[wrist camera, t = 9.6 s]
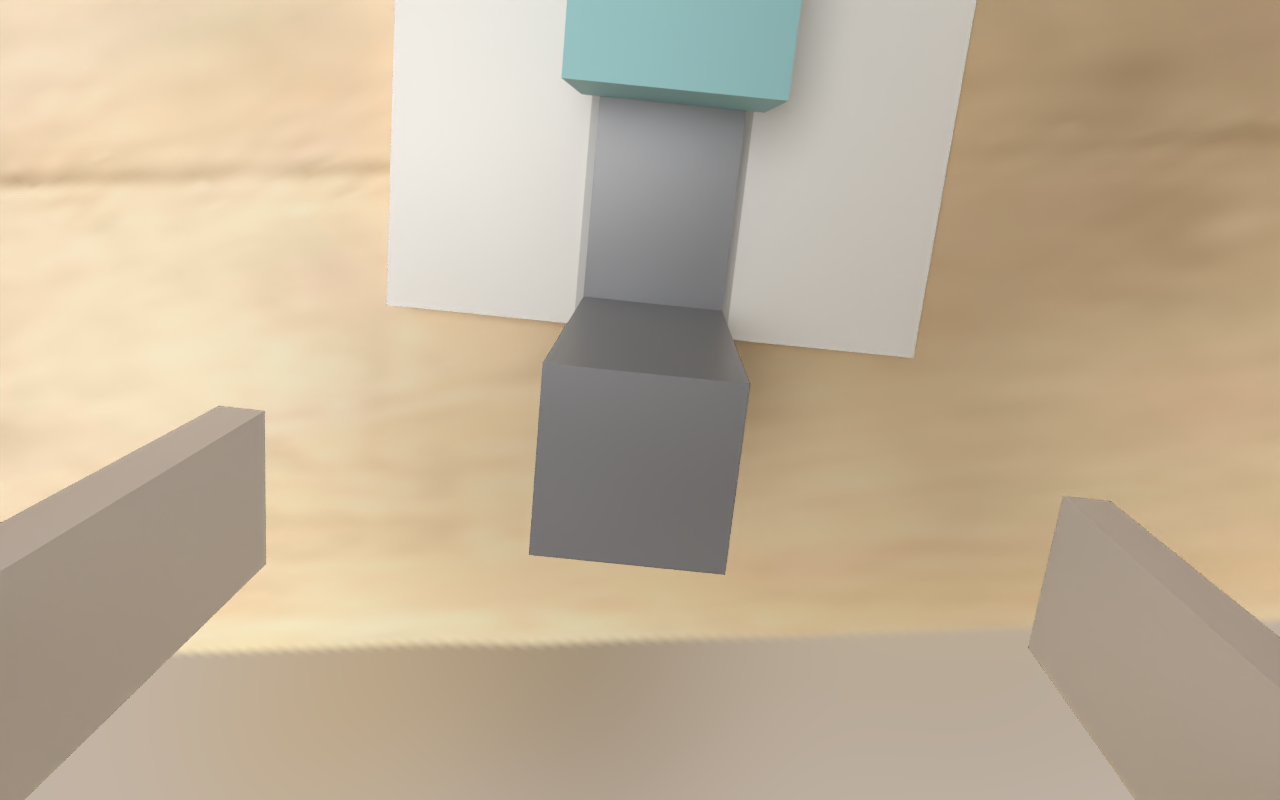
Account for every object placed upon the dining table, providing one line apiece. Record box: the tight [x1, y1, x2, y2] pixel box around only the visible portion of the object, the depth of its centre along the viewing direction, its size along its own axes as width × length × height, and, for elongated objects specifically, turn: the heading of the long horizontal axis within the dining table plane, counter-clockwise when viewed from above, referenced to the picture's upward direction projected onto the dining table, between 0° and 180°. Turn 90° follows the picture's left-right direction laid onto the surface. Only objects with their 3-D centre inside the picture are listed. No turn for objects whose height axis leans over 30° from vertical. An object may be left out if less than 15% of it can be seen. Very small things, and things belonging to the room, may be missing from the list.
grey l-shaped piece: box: [529, 96, 750, 575], centre depth 21 cm, size 4×18×10 cm, turn 174°
